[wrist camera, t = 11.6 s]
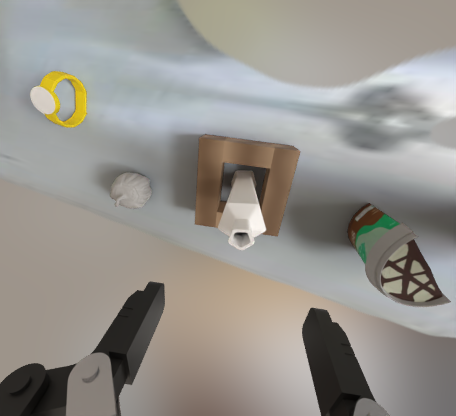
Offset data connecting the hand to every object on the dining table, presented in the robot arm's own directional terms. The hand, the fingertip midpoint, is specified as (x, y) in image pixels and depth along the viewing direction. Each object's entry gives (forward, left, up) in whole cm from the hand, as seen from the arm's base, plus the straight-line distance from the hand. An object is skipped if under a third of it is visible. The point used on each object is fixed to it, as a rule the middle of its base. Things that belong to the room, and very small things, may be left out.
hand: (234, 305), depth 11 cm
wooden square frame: (0, 0, -21) cm, 21 cm away
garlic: (+16, +3, -22) cm, 27 cm away
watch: (+23, -8, -22) cm, 32 cm away
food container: (-20, +6, -22) cm, 30 cm away
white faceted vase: (0, 0, -22) cm, 22 cm away
